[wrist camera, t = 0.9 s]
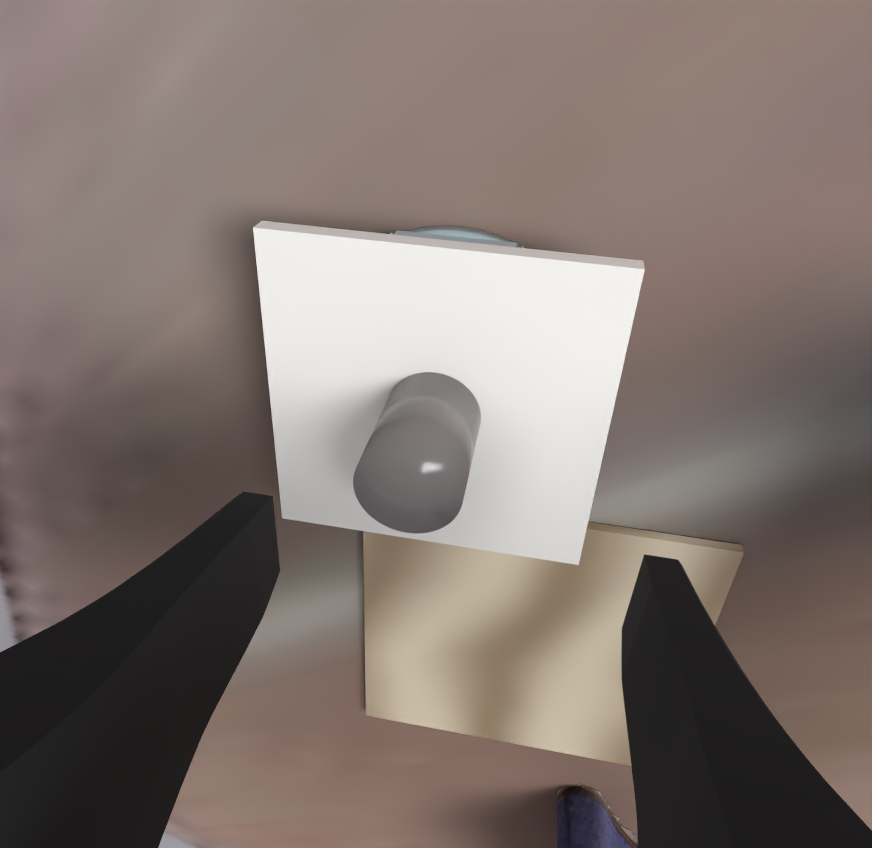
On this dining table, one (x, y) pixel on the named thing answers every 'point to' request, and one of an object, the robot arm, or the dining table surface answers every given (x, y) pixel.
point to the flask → (589, 821)
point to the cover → (442, 384)
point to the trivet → (517, 635)
